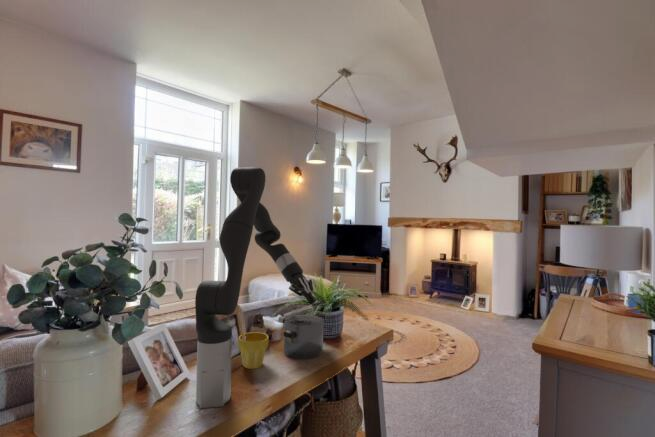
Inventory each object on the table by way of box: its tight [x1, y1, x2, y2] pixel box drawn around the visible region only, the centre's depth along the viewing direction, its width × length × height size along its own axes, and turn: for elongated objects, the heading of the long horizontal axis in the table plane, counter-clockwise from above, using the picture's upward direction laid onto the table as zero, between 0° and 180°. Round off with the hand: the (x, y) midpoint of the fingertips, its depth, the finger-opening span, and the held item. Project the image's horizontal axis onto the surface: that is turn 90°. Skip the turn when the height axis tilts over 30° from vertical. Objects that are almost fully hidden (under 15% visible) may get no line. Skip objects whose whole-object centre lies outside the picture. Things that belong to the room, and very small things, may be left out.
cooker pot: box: [277, 313, 324, 360], centre depth 133 cm, size 17×20×12 cm
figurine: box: [249, 312, 267, 334], centre depth 141 cm, size 7×7×12 cm
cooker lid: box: [283, 300, 326, 318], centre depth 133 cm, size 17×15×2 cm
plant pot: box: [237, 331, 270, 370], centre depth 120 cm, size 10×10×10 cm
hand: (313, 302), depth 131 cm, fingers closed
